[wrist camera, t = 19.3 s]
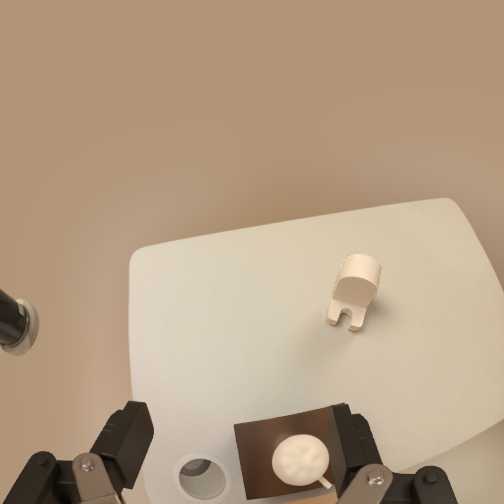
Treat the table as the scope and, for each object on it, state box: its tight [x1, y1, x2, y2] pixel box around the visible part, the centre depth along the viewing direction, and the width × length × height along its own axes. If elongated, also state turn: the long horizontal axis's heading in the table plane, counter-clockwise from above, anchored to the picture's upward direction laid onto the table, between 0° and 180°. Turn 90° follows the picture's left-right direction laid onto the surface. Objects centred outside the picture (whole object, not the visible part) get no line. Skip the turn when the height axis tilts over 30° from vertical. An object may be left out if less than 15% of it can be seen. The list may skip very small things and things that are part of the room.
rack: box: [234, 403, 345, 500], centre depth 31 cm, size 12×9×9 cm
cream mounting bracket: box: [325, 254, 382, 331], centre depth 42 cm, size 5×10×10 cm, turn 159°
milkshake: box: [272, 435, 332, 489], centre depth 23 cm, size 5×5×10 cm
